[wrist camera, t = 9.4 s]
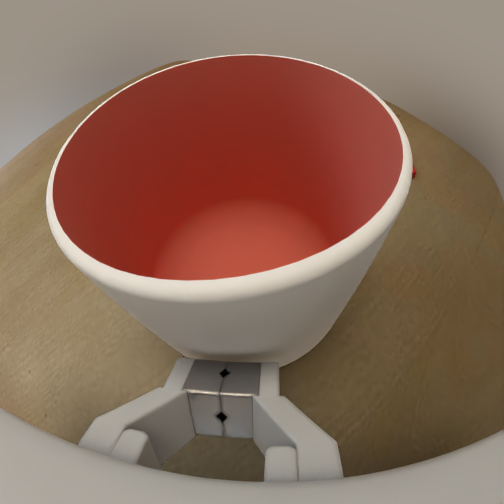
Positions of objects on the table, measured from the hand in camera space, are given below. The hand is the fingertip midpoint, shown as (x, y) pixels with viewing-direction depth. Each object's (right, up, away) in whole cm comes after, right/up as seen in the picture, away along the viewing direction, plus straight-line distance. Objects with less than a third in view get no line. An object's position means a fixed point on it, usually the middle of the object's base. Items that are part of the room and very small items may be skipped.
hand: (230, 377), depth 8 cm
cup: (0, +2, +7) cm, 8 cm away
